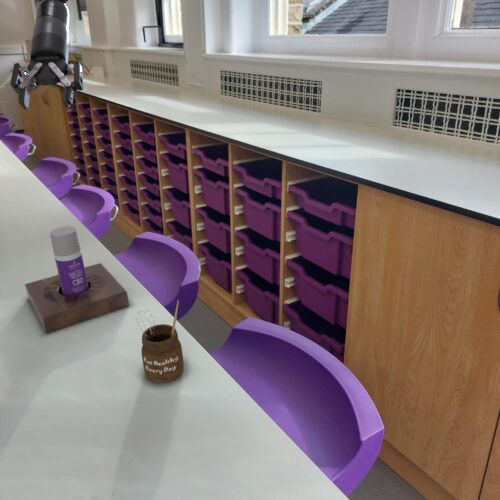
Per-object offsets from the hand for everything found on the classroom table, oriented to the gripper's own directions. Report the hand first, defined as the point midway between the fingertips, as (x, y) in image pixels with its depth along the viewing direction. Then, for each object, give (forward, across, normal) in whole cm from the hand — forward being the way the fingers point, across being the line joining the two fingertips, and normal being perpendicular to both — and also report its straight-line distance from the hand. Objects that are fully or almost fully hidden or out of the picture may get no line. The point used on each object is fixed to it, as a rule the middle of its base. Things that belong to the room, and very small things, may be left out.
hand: (45, 106), depth 101 cm
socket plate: (+41, +6, +7) cm, 42 cm away
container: (+41, +6, +7) cm, 42 cm away
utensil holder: (+57, +25, -9) cm, 63 cm away
